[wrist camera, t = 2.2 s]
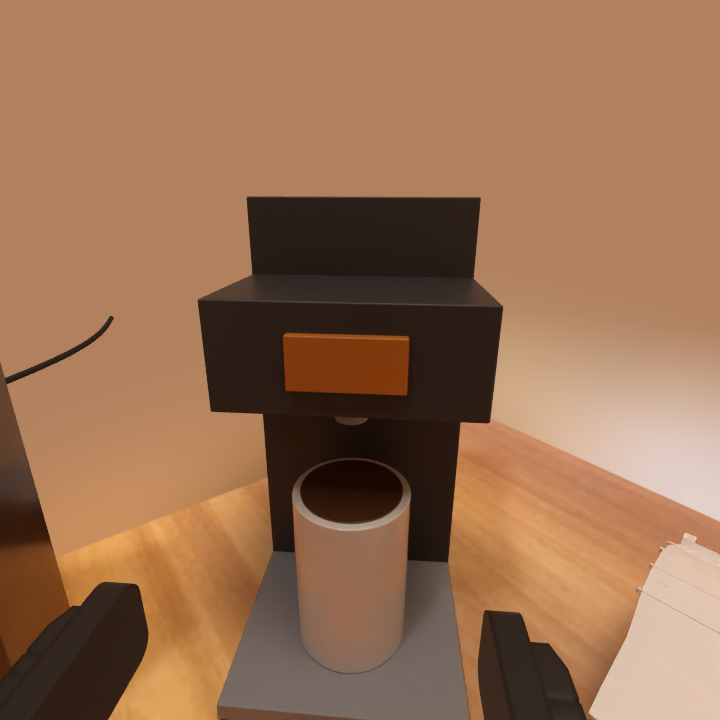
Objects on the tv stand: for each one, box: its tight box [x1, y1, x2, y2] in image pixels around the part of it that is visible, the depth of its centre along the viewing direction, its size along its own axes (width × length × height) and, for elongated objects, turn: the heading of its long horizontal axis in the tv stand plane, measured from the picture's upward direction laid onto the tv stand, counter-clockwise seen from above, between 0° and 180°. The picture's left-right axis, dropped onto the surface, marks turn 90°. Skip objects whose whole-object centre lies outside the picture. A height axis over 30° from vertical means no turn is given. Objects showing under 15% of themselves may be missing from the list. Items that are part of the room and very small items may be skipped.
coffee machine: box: [198, 197, 503, 720], centre depth 24 cm, size 16×12×24 cm
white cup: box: [292, 458, 411, 674], centre depth 24 cm, size 6×6×9 cm
